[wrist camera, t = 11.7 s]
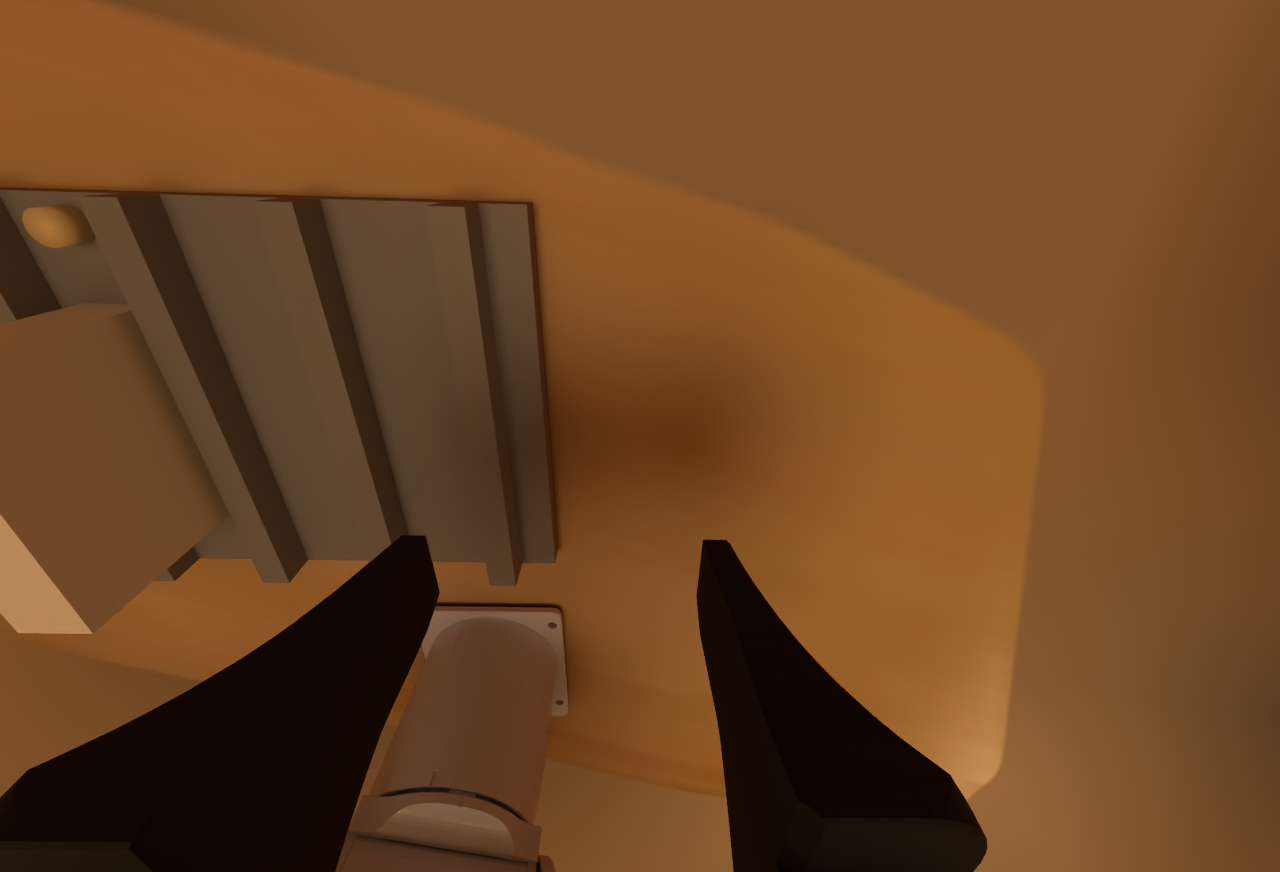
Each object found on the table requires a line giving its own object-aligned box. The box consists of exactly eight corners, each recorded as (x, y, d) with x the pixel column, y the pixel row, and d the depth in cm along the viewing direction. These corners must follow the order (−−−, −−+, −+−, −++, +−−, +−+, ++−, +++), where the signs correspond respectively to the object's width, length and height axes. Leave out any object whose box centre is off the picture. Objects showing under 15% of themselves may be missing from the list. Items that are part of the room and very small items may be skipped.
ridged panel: (558, 549, 25) (550, 586, 23) (158, 543, 25) (112, 580, 22) (532, 202, 17) (517, 208, 15) (-55, 185, 17) (-157, 189, 15)
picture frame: (242, 503, 22) (92, 633, 16) (185, 502, 22) (14, 633, 16) (150, 304, 18) (-104, 379, 12) (79, 303, 18) (-214, 377, 12)
